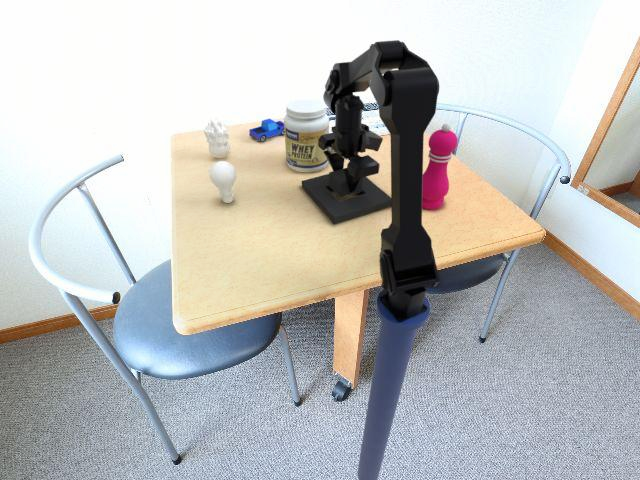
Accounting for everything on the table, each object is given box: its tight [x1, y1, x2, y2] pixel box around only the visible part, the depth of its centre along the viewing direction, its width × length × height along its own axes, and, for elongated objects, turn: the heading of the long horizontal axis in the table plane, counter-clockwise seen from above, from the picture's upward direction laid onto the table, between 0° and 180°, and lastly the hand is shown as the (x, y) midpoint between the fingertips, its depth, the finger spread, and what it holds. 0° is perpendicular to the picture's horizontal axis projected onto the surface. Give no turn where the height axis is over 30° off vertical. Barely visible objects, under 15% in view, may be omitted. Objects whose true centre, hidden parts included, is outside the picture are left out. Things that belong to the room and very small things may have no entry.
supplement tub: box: [283, 98, 330, 173], centre depth 101 cm, size 12×12×17 cm
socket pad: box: [300, 173, 391, 225], centre depth 92 cm, size 18×16×2 cm
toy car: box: [248, 118, 285, 143], centre depth 119 cm, size 7×12×5 cm, turn 127°
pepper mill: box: [422, 122, 459, 211], centre depth 84 cm, size 7×7×20 cm
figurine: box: [203, 117, 231, 159], centre depth 106 cm, size 7×7×12 cm
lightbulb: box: [208, 160, 237, 204], centre depth 87 cm, size 6×6×11 cm
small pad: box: [328, 167, 363, 199], centre depth 90 cm, size 6×6×4 cm
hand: (345, 185), depth 90 cm, fingers closed on small pad, 6 cm apart
